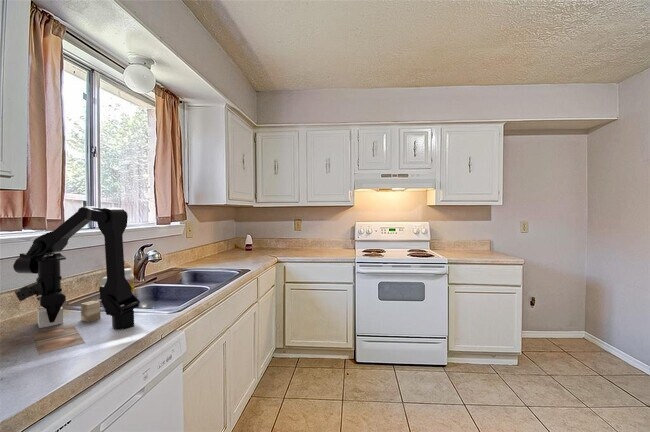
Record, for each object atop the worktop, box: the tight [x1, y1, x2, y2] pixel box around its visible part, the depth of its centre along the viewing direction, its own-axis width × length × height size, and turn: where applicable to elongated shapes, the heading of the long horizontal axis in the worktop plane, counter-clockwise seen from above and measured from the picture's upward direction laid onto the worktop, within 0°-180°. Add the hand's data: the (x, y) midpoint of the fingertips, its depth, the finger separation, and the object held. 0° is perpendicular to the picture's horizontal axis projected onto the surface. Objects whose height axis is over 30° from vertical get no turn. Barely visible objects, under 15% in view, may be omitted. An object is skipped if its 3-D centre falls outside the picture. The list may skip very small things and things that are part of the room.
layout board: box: [31, 323, 86, 355], centre depth 96 cm, size 22×10×1 cm, turn 46°
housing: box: [36, 306, 64, 329], centre depth 107 cm, size 6×6×5 cm
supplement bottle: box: [124, 267, 135, 296], centre depth 142 cm, size 7×7×13 cm
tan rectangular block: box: [80, 300, 101, 323], centre depth 111 cm, size 4×4×7 cm
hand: (50, 320), depth 108 cm, fingers closed on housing, 6 cm apart
